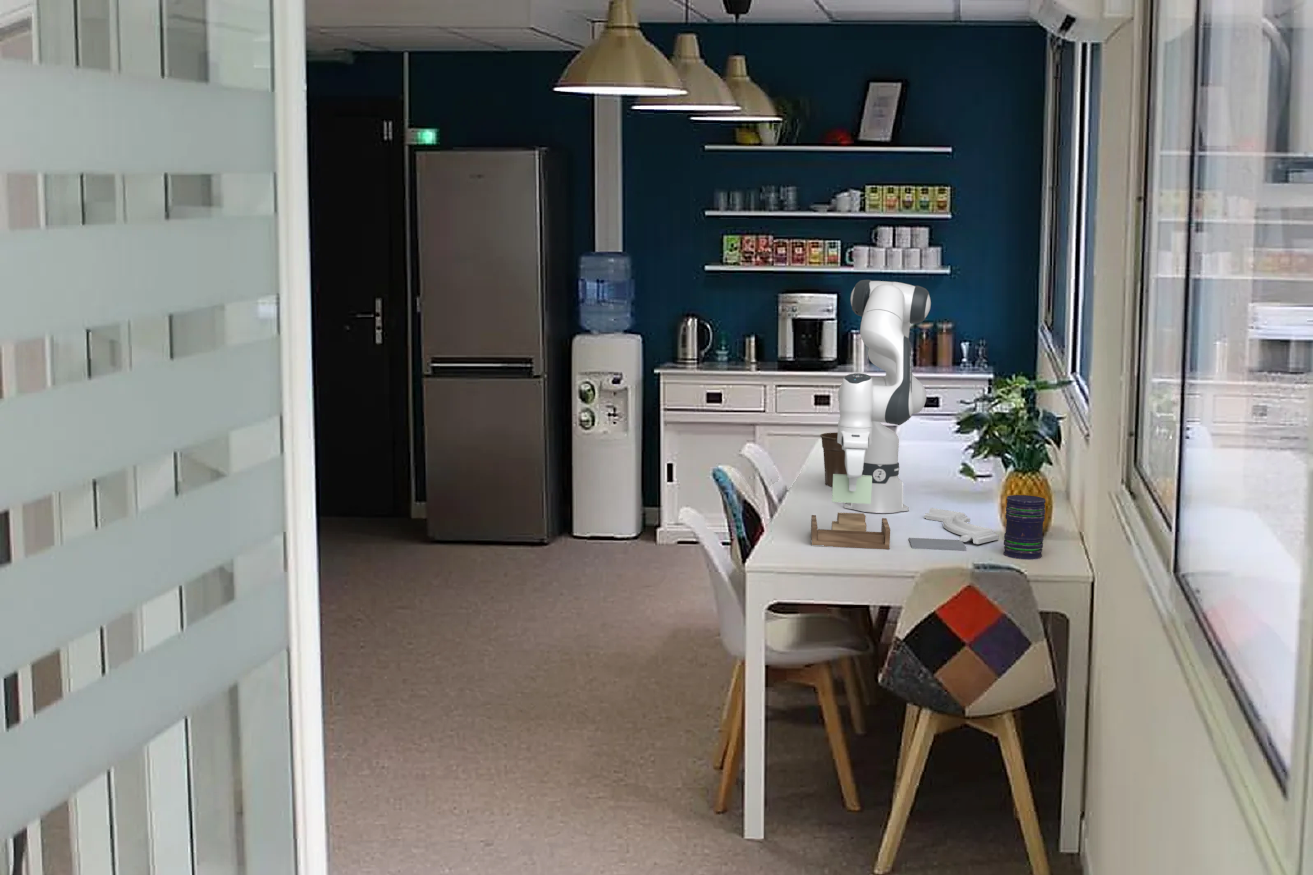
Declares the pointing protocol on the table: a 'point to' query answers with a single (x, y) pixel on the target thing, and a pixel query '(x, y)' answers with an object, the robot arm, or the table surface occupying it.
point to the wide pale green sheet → (845, 496)
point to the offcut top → (851, 518)
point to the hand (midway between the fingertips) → (851, 489)
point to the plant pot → (832, 457)
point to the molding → (962, 526)
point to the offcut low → (848, 527)
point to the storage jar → (1024, 527)
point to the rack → (851, 537)
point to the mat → (937, 544)
